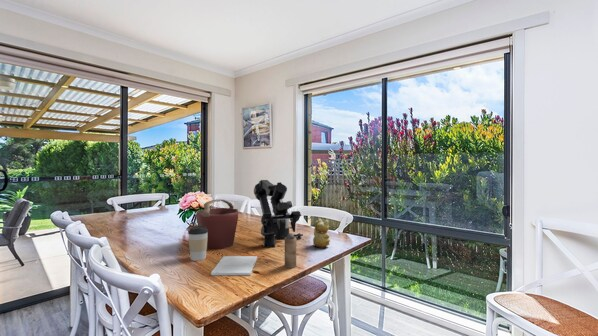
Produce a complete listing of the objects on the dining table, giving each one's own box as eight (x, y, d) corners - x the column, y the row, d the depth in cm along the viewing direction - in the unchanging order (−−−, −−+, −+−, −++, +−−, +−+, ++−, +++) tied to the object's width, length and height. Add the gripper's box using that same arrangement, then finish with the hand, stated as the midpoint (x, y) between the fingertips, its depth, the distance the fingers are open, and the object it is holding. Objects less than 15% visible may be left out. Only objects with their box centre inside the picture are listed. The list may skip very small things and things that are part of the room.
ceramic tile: (223, 258, 134) (223, 256, 134) (257, 258, 134) (257, 256, 134) (210, 275, 114) (210, 272, 114) (250, 275, 114) (250, 272, 114)
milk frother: (272, 236, 173) (272, 212, 173) (295, 233, 180) (295, 210, 180) (280, 242, 160) (280, 216, 160) (305, 239, 167) (305, 214, 167)
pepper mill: (284, 264, 127) (284, 232, 126) (296, 264, 127) (296, 232, 126) (284, 268, 121) (284, 235, 121) (296, 268, 122) (296, 235, 121)
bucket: (210, 254, 139) (210, 204, 139) (185, 246, 152) (185, 200, 152) (247, 243, 159) (247, 199, 158) (222, 236, 172) (222, 195, 171)
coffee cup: (188, 256, 136) (188, 225, 136) (207, 254, 139) (207, 224, 139) (187, 262, 128) (187, 229, 127) (208, 260, 131) (208, 228, 131)
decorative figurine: (332, 246, 153) (332, 218, 153) (325, 250, 146) (325, 221, 146) (316, 243, 158) (316, 217, 158) (309, 247, 151) (309, 219, 151)
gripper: (262, 196, 131) (269, 224, 121) (299, 194, 138) (308, 221, 128) (258, 210, 139) (264, 238, 129) (293, 208, 146) (301, 234, 136)
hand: (285, 232), depth 130 cm, fingers open, 9 cm apart
